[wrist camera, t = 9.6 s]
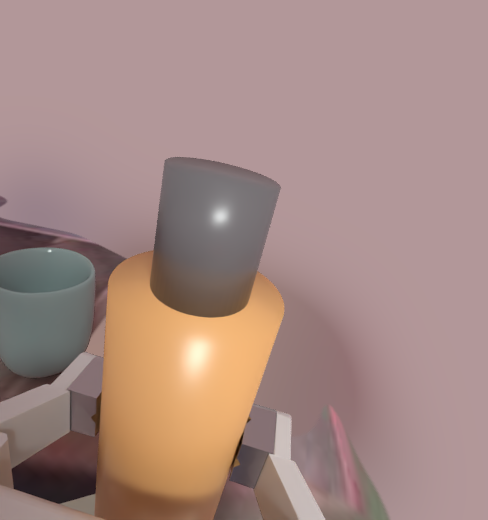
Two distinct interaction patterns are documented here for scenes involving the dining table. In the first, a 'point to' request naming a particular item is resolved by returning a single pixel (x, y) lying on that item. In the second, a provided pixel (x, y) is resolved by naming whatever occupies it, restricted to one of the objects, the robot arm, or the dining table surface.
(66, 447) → the dining table surface
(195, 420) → the orange capped bottle
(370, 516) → the dining table surface
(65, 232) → the dining table surface
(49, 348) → the cup
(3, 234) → the dining table surface
